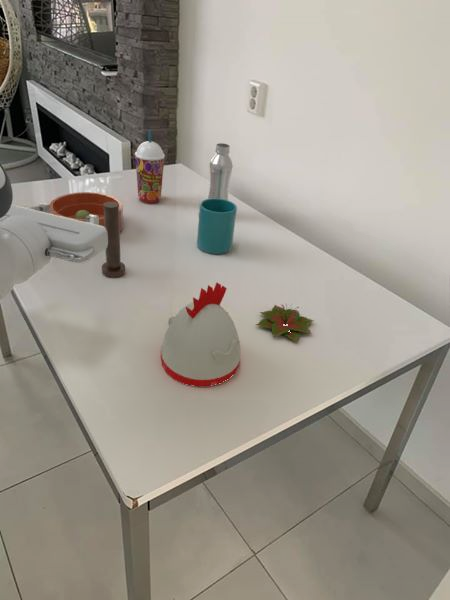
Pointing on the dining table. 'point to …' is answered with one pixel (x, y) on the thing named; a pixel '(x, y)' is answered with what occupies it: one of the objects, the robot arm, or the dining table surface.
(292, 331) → the green leafy plant
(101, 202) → the bowl
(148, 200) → the smoothie
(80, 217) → the green ball
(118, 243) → the masher
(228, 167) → the silver bottle
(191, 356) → the kitchen timer
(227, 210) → the cup
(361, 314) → the dining table surface
